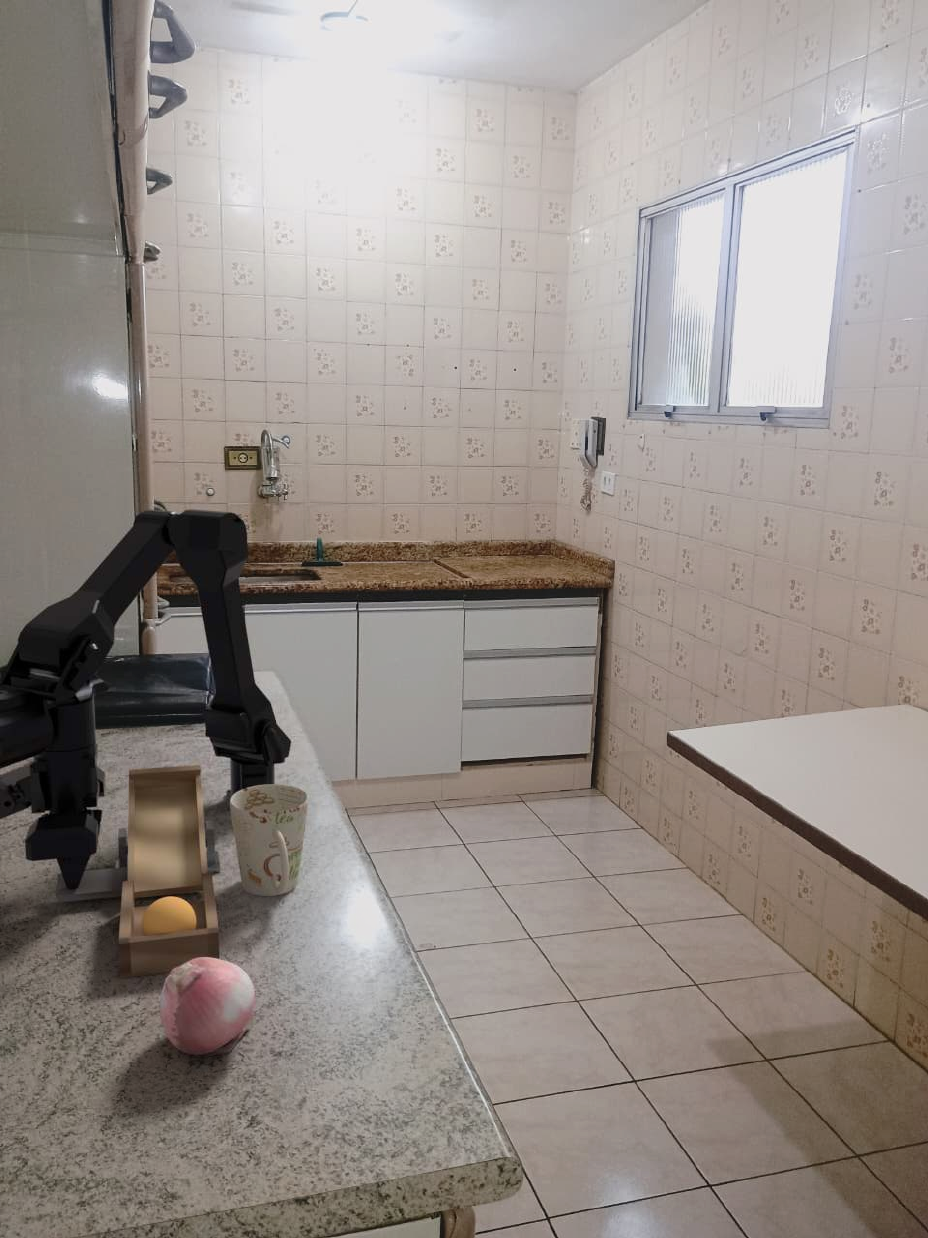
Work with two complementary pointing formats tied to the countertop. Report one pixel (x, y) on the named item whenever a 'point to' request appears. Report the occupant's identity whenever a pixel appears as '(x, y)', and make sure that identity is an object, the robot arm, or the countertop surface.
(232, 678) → the robot arm
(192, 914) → the ball
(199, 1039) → the onion
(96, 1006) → the countertop surface
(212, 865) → the stand
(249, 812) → the mug
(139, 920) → the tray
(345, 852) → the countertop surface
